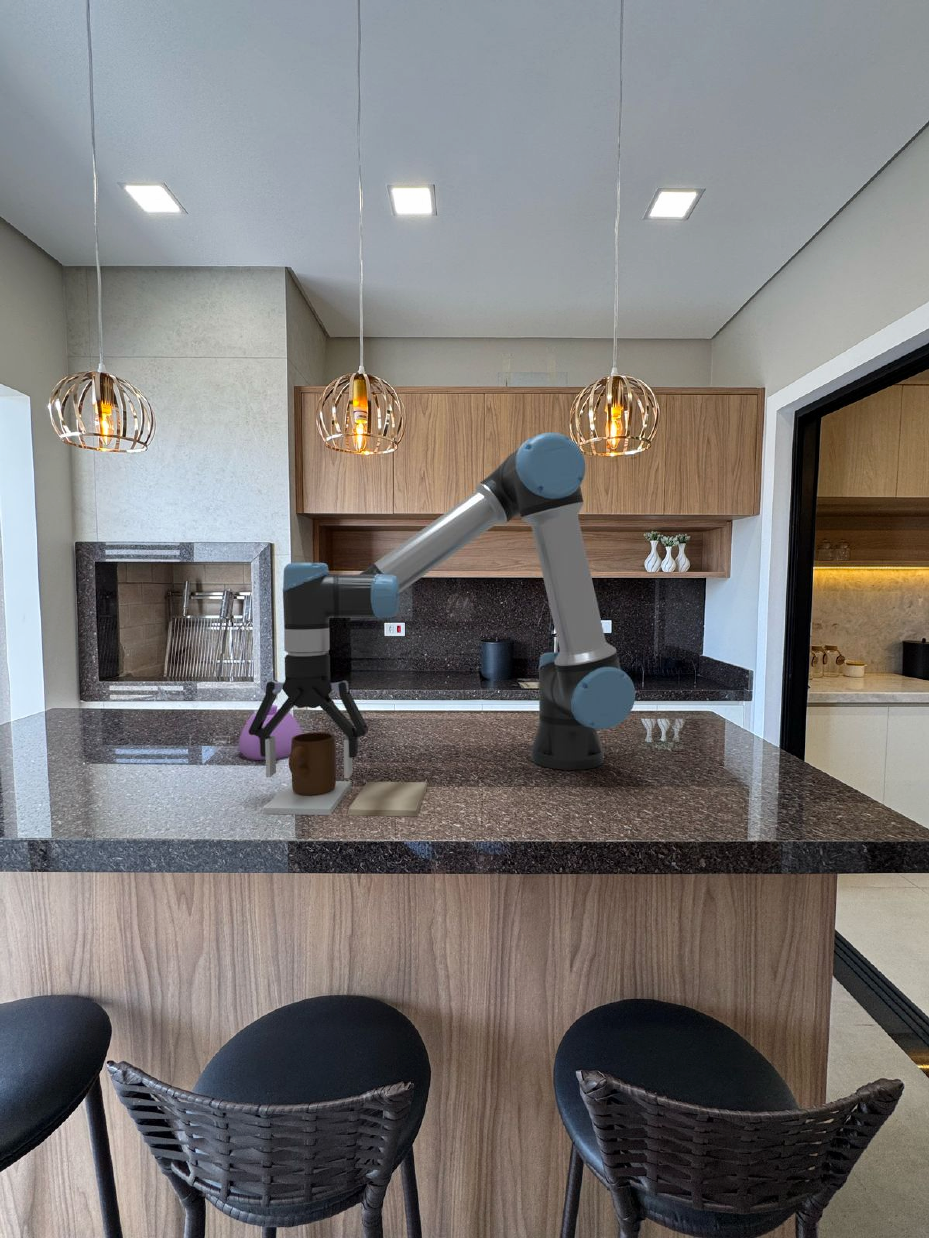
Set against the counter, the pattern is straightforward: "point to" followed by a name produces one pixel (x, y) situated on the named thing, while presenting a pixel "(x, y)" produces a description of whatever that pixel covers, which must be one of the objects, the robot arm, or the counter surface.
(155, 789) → the counter surface
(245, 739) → the teapot
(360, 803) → the tile oak
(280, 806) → the tile grey
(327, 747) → the mug
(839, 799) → the counter surface
